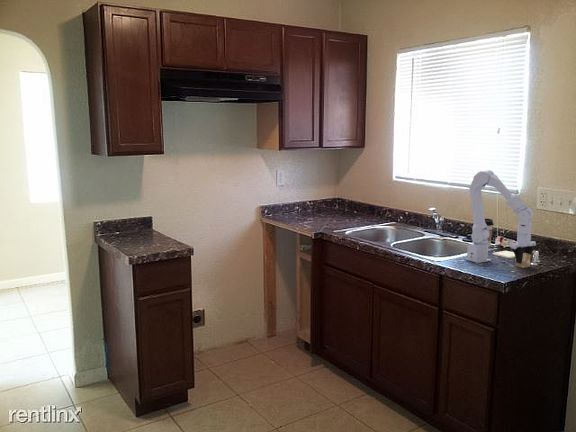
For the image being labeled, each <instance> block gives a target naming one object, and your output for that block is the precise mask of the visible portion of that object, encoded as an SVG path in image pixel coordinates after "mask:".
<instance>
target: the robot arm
mask: <svg viewBox="0 0 576 432" xmlns="http://www.w3.org/2000/svg"><path fill="white" fill-rule="evenodd" d="M486 186H489V187H493V188H495V190H497V191H498V193H500V194H501V195H502V196H503V197H504V198H505V201H506V202H505V203H506V205H507V206H508V207H509V208H510V209H511V210H512V211H513V212H514V213H515V214H516V218H517V219H518V224H517V235H516V236H517V237H516V242H514V243H512V244H510V245H511V246H510V249H511V250H512V252H514V254H515V257H514V259H515V258H516V262H517V263H521V262H522V256H523V253H528V254H530V257H531V256H532V254H533V253H532V252H533V251H535V249H536V248H535V247H536V244H537V242H536V241H533V240H532V226H533V225H532V223H533V222H532V219H533V217H534V210H533V209H532V208H531V207H529V205H528V204H525V203H524V202H523V200H522V197H521V196H518V195H517V194H513V193H512V192H511V191H510V189H508V188H507V186H506V185H505V184H504V183H503V182H502V180H501V179H500V178H499V176H498V175H496V174H495V173H494V172H493V171H492V170H490V169H485V170H482V171H481V170H480V171H478V172H477V173H476V174H475V175H474V176H473V178H472V181H471V183H470V185H469V195H470V197H469V198H470V202H471V212H472V220H473V225H472V229H471V230H472V233H471V236H470V237H471V240H472V242H471V243H470V244H468V246H467V249H466V250H467V251H466V253H467V254H466V258H465V260H467V261H470V262H474V263H477V264H479V263H486V262H491V261H492V259H490V258H488V256H489V255H488V253H489V247H488V240H487V239H488V238H489V237H490V232H489V230H488V228H487V224H486V223H485V219H486V218H485V212H484V203H483V195H482V191H483V190H484V188H485V187H486Z"/></svg>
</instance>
